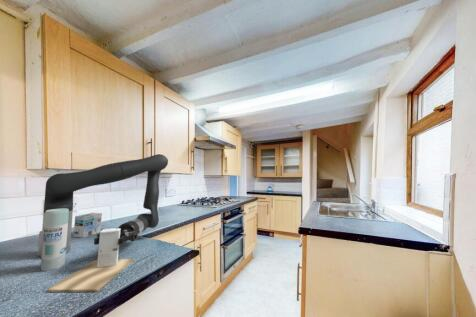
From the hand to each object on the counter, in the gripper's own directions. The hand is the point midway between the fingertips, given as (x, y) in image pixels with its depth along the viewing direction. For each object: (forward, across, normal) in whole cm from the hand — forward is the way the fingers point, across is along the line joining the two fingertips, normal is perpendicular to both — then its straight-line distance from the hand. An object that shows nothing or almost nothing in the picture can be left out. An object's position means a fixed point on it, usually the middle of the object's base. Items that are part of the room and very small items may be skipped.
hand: (107, 242), depth 71 cm
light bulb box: (-38, -35, +9) cm, 53 cm away
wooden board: (+4, 0, +9) cm, 10 cm away
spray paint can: (0, -19, +9) cm, 21 cm away
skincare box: (-1, 0, +8) cm, 9 cm away
